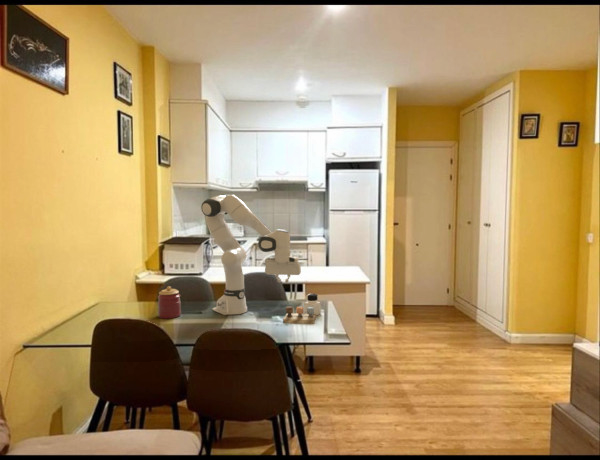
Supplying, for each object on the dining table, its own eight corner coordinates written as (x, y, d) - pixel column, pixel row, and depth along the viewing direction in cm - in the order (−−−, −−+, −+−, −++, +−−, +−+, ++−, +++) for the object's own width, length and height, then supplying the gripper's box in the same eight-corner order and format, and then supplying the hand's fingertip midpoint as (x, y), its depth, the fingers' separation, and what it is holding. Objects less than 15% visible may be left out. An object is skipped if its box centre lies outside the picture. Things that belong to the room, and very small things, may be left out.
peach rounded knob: (295, 317, 222) (295, 308, 222) (297, 315, 226) (297, 306, 226) (302, 317, 221) (302, 308, 221) (304, 315, 225) (303, 306, 225)
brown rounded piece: (285, 316, 223) (285, 308, 223) (286, 314, 227) (286, 306, 227) (292, 317, 222) (292, 308, 222) (293, 315, 226) (293, 306, 226)
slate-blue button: (306, 317, 221) (306, 308, 221) (307, 315, 225) (307, 306, 225) (313, 317, 220) (313, 309, 220) (314, 315, 224) (314, 307, 224)
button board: (283, 322, 219) (283, 318, 219) (287, 316, 231) (287, 312, 231) (313, 323, 216) (313, 320, 216) (316, 317, 228) (316, 314, 228)
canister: (169, 311, 243) (168, 283, 242) (185, 314, 238) (185, 285, 236) (153, 317, 232) (152, 287, 230) (170, 320, 226) (169, 289, 225)
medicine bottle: (320, 314, 235) (320, 294, 234) (313, 316, 230) (312, 296, 229) (311, 311, 240) (311, 292, 239) (304, 314, 235) (303, 294, 234)
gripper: (263, 258, 222) (263, 283, 223) (299, 259, 219) (299, 283, 220) (266, 257, 228) (266, 280, 229) (301, 257, 225) (301, 281, 226)
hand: (282, 282), depth 224 cm, fingers open, 3 cm apart
